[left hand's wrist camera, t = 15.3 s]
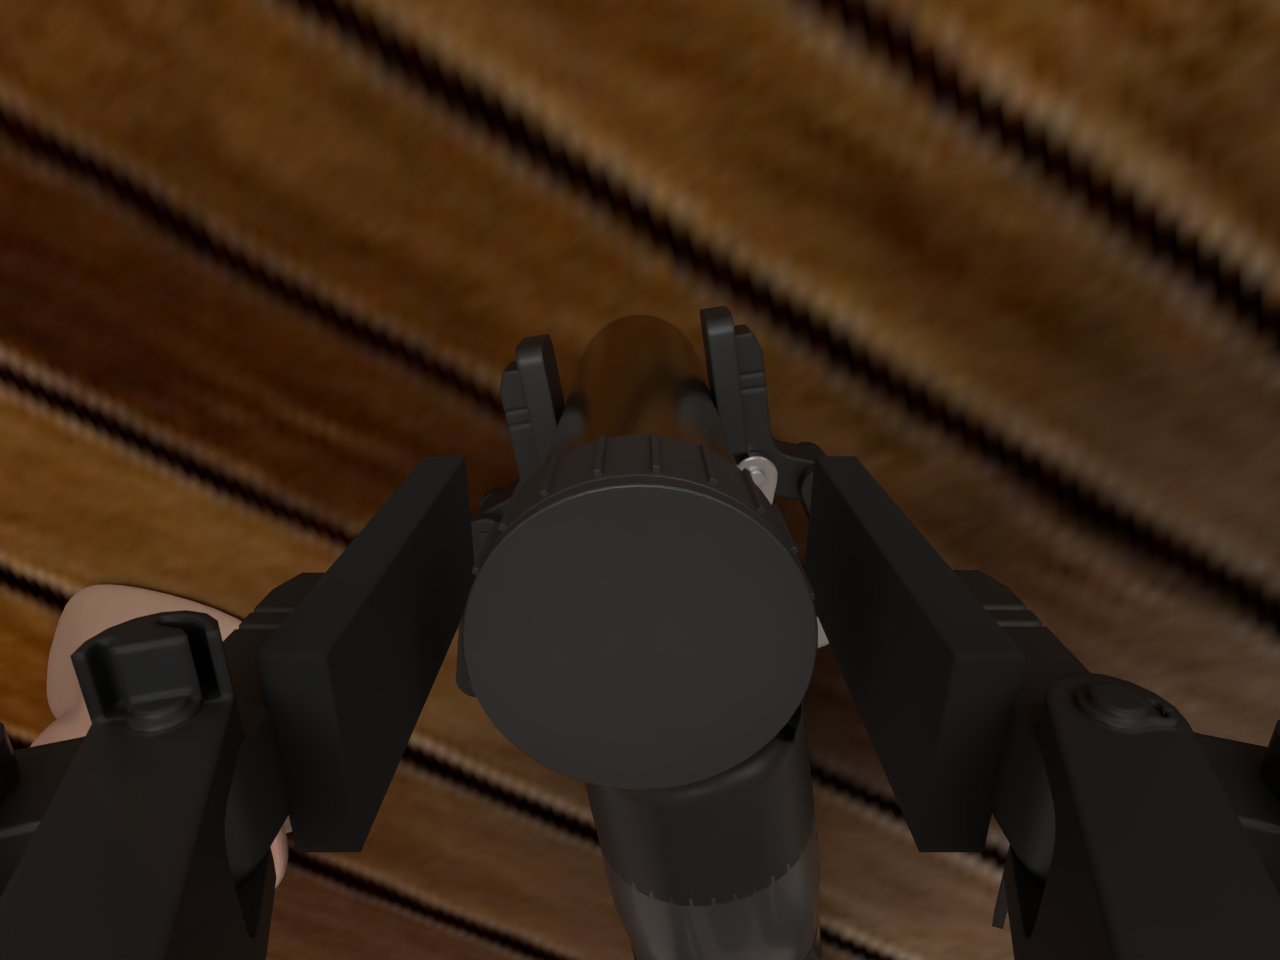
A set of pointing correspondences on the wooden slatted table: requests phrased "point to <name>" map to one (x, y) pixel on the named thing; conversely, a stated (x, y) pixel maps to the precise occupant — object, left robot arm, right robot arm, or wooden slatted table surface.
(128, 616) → the anatomical model
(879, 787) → the wooden slatted table surface
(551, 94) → the wooden slatted table surface
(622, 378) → the dark brown cylindrical piece
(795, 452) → the right robot arm
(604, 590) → the lid
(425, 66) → the wooden slatted table surface
